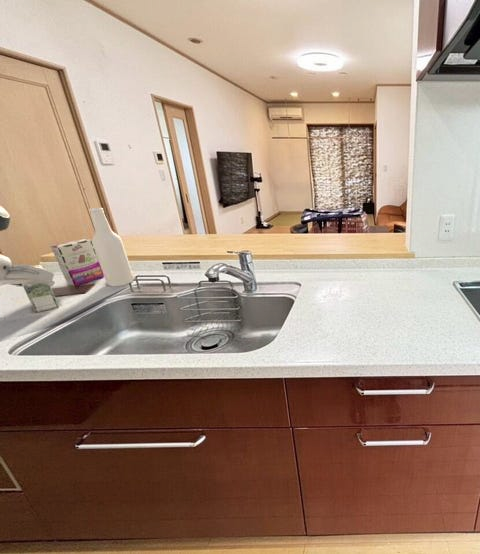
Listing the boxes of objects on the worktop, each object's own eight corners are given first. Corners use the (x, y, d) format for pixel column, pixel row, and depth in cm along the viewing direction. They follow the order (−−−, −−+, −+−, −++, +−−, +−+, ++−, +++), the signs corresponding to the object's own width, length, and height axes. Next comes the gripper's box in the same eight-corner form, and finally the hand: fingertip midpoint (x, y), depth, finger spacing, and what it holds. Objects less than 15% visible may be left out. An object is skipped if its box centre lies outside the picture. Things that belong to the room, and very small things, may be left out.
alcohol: (138, 281, 122) (115, 208, 110) (112, 288, 115) (84, 211, 103) (129, 276, 126) (106, 205, 115) (104, 283, 119) (76, 209, 108)
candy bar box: (97, 275, 128) (83, 238, 121) (105, 276, 126) (92, 239, 120) (66, 285, 118) (49, 245, 112) (74, 286, 116) (58, 246, 110)
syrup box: (57, 302, 104) (40, 263, 99) (59, 307, 101) (42, 267, 95) (33, 308, 100) (14, 268, 95) (35, 313, 97) (15, 272, 91)
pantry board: (36, 299, 106) (35, 298, 106) (50, 289, 114) (49, 288, 114) (85, 293, 111) (84, 292, 111) (95, 284, 119) (95, 283, 119)
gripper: (30, 257, 86) (72, 275, 99) (-43, 257, 85) (9, 275, 98) (20, 276, 84) (65, 293, 97) (-55, 277, 83) (0, 293, 96)
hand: (36, 284), depth 97 cm, fingers open, 8 cm apart
